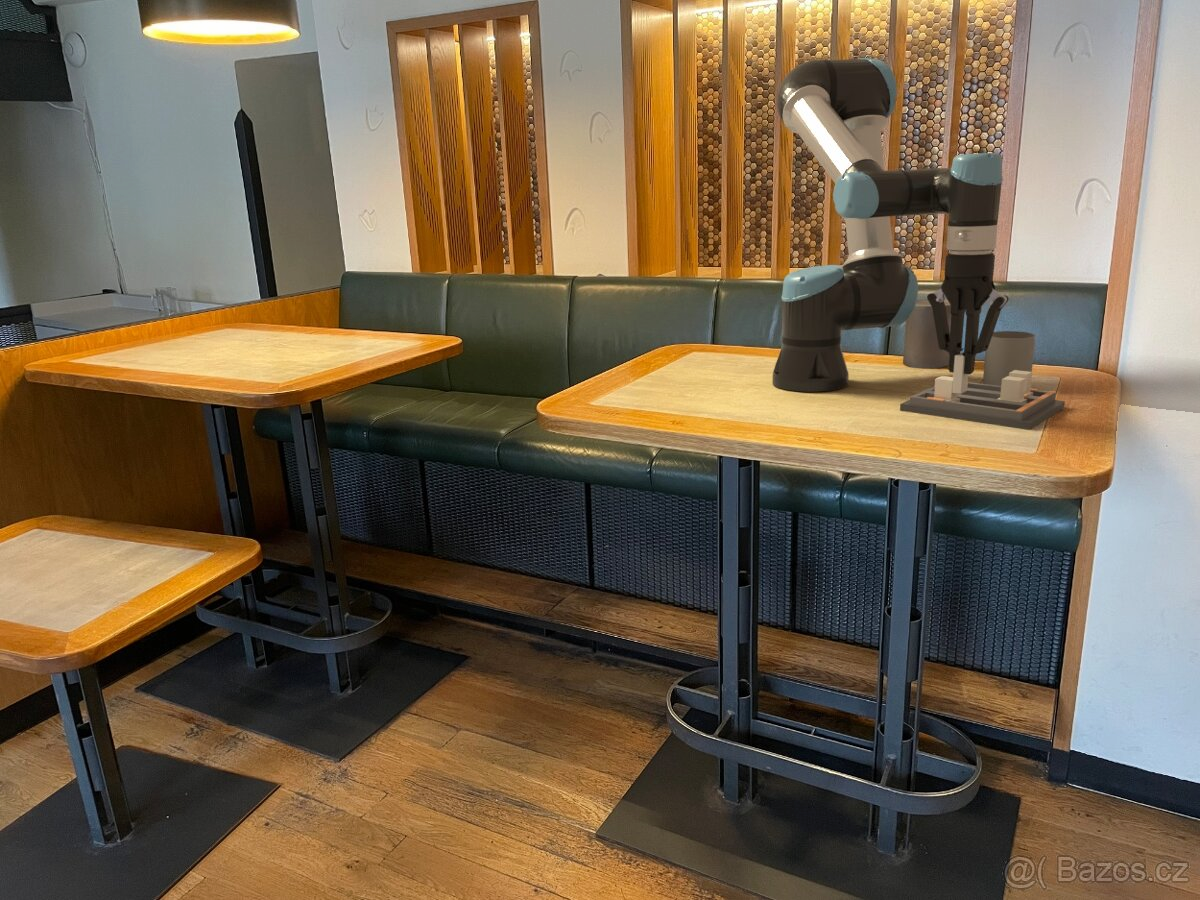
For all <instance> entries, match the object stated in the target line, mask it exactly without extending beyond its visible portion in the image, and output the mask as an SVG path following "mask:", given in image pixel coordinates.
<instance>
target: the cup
mask: <svg viewBox="0 0 1200 900" xmlns="http://www.w3.org/2000/svg"><path fill="white" fill-rule="evenodd" d="M1035 344H1036V334H1034V333H1032V332H1027V331H1026V332H1025V331H1020V330H1019V331H1018V330H1017V331H1016V330H999V331H994V332H993V335H992V338H991V341H990V344H989V347H988V349H987V350H986V351H984V352H985V353H984V365H983V377H982V384H989V385H997V386H1001V384H1002V379H1003V378H1005V377H1007V376H1009V373H1010V372H1012V371H1014V370H1019V371H1028V372H1032V373H1033V365H1034V364H1033V363H1034V356H1035Z"/></svg>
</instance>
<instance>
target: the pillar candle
mask: <svg viewBox="0 0 1200 900" xmlns="http://www.w3.org/2000/svg"><path fill="white" fill-rule="evenodd" d="M944 304H945V307H946V313H947V320H948V326H949V332H950V328H951V305H950V303H949V301H948V300H947V299H945V300H944ZM904 325H905V330H904V342H903V357H902V359H903V360H902V364H903V365H904V366H906V367H908V368H915V369H927V370H928V369H929V370H930V369H942V368H944V367H949V357H950V355H949V353H948V352H947V351H945V350H941V349H940V348H939V345H938V339H937V333H936V327H935V321H934V315H933V309H932V306H931V304H930V303H929V301H928V299H927V298H920V299H919V298H917V301H916V305H915V308H914V309H913V311H912V314H911V315H910V317H909V318H908V319H907V320H906V321H905V324H904Z"/></svg>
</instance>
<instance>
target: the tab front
mask: <svg viewBox="0 0 1200 900" xmlns="http://www.w3.org/2000/svg"><path fill="white" fill-rule="evenodd" d="M934 386H935V391H934V397H933V398H940V399H945V400H947V401H954V402H960V398H957V394H958V393H952V387H953V376H947V375H946V376H945V375H941V376H938V377H937V378H935V381H934Z"/></svg>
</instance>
